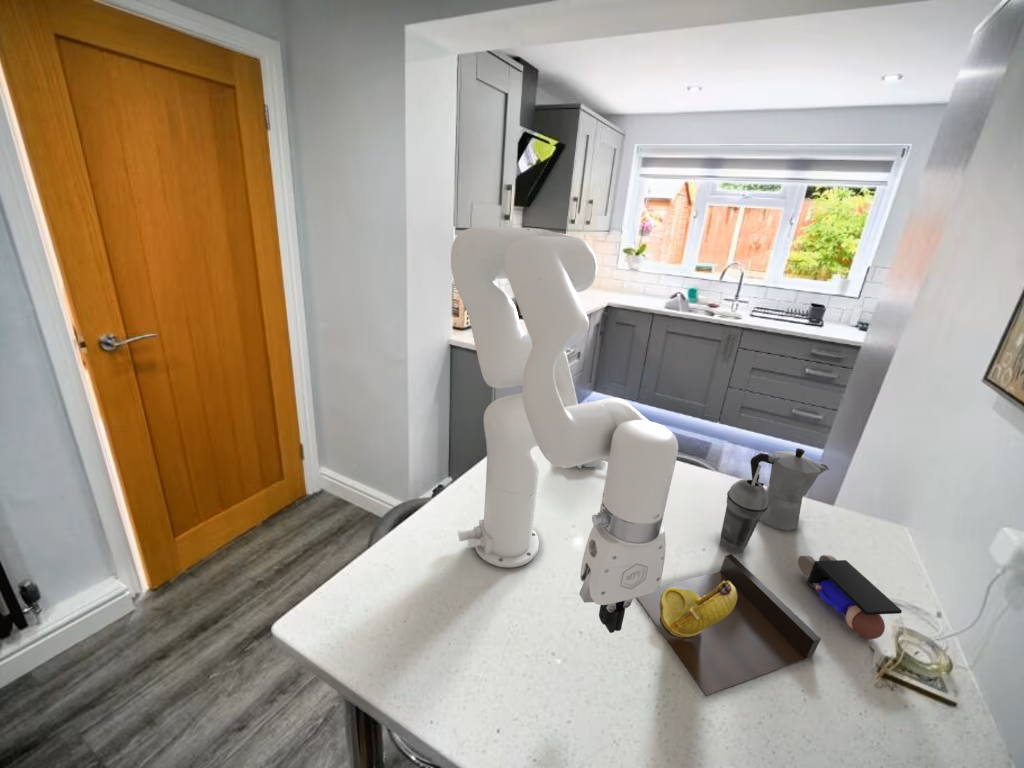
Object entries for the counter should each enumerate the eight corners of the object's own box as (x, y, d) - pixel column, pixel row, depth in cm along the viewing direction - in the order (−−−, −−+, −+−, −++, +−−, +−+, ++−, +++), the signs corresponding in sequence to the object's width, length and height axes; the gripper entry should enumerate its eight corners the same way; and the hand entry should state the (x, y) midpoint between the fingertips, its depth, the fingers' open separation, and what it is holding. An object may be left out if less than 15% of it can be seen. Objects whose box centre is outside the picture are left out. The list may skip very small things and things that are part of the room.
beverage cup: (750, 541, 91) (779, 459, 84) (752, 564, 85) (783, 478, 78) (713, 529, 94) (738, 448, 87) (712, 550, 88) (738, 466, 80)
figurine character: (788, 580, 84) (854, 647, 70) (797, 546, 82) (868, 607, 67) (820, 579, 85) (892, 645, 70) (830, 546, 83) (906, 606, 68)
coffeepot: (798, 509, 103) (824, 443, 96) (816, 537, 94) (846, 466, 87) (729, 498, 105) (750, 432, 98) (740, 523, 96) (764, 453, 90)
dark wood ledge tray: (705, 695, 61) (712, 676, 60) (633, 593, 77) (637, 576, 75) (812, 656, 68) (821, 638, 66) (726, 569, 83) (731, 553, 82)
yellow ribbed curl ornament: (732, 661, 66) (760, 588, 60) (684, 671, 64) (709, 595, 58) (687, 599, 76) (708, 531, 70) (645, 605, 74) (663, 536, 69)
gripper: (592, 548, 49) (574, 662, 56) (698, 526, 54) (670, 633, 61) (563, 507, 56) (550, 613, 62) (661, 491, 61) (639, 591, 67)
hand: (609, 623), depth 61 cm, fingers closed
